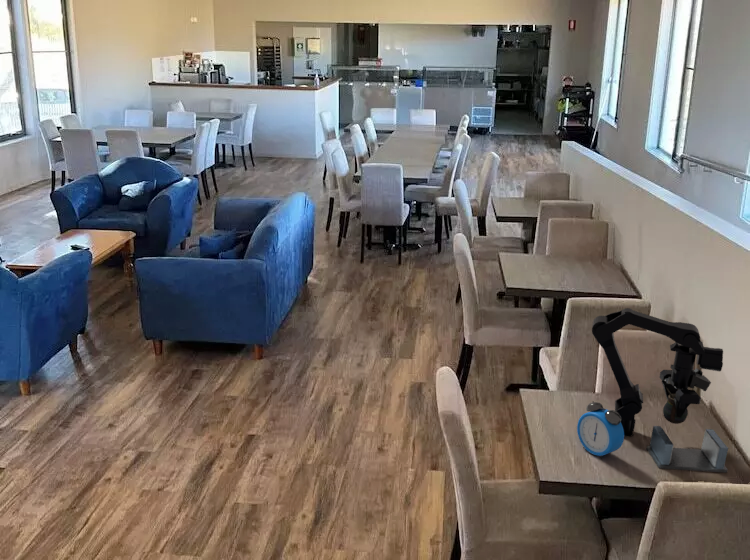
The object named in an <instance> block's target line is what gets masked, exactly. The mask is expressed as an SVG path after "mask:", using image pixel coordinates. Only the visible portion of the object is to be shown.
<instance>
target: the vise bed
mask: <svg viewBox="0 0 750 560" xmlns="http://www.w3.org/2000/svg"><path fill="white" fill-rule="evenodd" d="M700 448H701V449H700ZM700 448H699V449H697V448H684V447H683V448H682V447H673V451H672V456H671V461H670V463H669V465H662V464H661V462H660V461H659V459H658V458H657V456H656V454H655V453H654V451H653V450H652V448H651V446H650V445H646V450H647V452H648V454H649V456H650V457H651V459H652V460H653V462H654V464H655V465H656V466H657V468H658V469H664V470H665V469H666V470H677V471H679V470H681V471H694V472H708V473H709V472H710V473H713V472H714V473H728V471H729V470H728V468H727V467H726V465H725V464H726V460H727V454H728V451H729V447H728V446H727V445H726V444H725V442H724V441H723V440H722V439H721V438H720V436H719V435H718V434H717V432H716V431H715V430H714V429H712V428H711V429H709V428H705V430H704V434H703V440H702V444H701V447H700Z"/></svg>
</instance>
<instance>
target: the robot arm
mask: <svg viewBox="0 0 750 560" xmlns="http://www.w3.org/2000/svg"><path fill="white" fill-rule="evenodd" d="M628 325H630V326H633V327H637V328H640V329H643V330H645V331H650V332H653V333H655V334H659V335H662V336H665V337H667V338H669V339H670V340H672V341H673V342H674V343H672V344H670V345H669V349H670V351H671V352H675V353H674V355H675V356H674V360H673V364H670V369H663V370H660V373H659V378H660V380H661V384H662V387H663V390H664V393H665V396H666V397H665V398H666V400H667V401H668V396H669V395H670V394H669V392H668V390H669V391H670V392H671V394H676V397H674V402H675V407H676V413H677V417H682V415H683V414H684V412H685V410H686V409H687V410H688V407H689V406H690V405H700V404H701V399H702V397H701V396H700V395H699V394H698V393H697V391H696V390H695V387H696V388H698V389H700V390H702V391H703V392H706V391H707V390H708V389H709V387H710V385H711V383H712V382H711V380H709V379H708V378H707V377H706V376H705V375H704V374H703V373H704V372H703V371H702V370H708V371H715V372H721V371H722V369H723V366H724V362H723V360H724V359H723V358H724V349H723V348H719V347H717V348H716V347H708V346H705V345H704V344H703V343H704V342H703V341H701V335H700V331H699V328H698V327H697V326H696V325H695V324H692V323H689V322H688V323H687V322H683V321H682V322H680V321H678V322H673V321H668V320H666V319H662V318H659V317H655V316H652V315H649V314H646V313H643V312H640V311H636V310H633V309H632V308H628V307H627V308H626V307H625V308H624V309H621V310H618V311H615V312H610V313H608V314H606V315H598V316H596V317H595V318H594V319H593V321H592V327H591V333H592V335H593V337H594V339H595V341H596V342H597V343H598V344H599V346H601V348H602V349H603V351H604V354H605V356H606V359H607V361H608V364H609V367H610V368H611V371H612V373H613V376H614V378H615V380H616V384H617V385H618V388H619V392H620V397H619V398H618V399H615V401H614V411H617V412H618V413H619V414H620V416H621V424H622V426H623V430H624V437H625V436H626V437H627V436H628V437H634V435H635V434H634V431H635V425H636V419H635V416H636V415H638V414H640V413H641V411H642V409H643V404H644V394H643V393H642V391H641V390H640V386H639V383H637V384H633V382H632V381H631V379H630V376H629V374H628V371H627V368H626V367H625V363H624V361H623V359H622V356H621V354H620V352H619V349H618V346H617V344H616V340H615V336H614V335H615V334H614V333H616V332H618V331H619V330H621V329H622V328H624V327H626V326H628ZM695 362H696V365H697V366H698V365H699V368H697V367H696V368H694V367H695ZM701 369H702V370H701ZM666 387H667V388H668V390H667V389H666ZM667 401H666V402H667Z"/></svg>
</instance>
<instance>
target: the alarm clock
mask: <svg viewBox="0 0 750 560" xmlns="http://www.w3.org/2000/svg"><path fill="white" fill-rule="evenodd" d="M586 411H587V412H586V413H585V412H584V413H583V414H582V415H581V416H580V417H579V419H578V422H577V424H576V425H577V426H576V430H577V432H576V433H577V436H578V439H579V442H580V444H582V446H583V449H585V450H586V451H587V452H588V453H590V454H592V455H594V456H597V457H600V459H601V460H602V459H603V456H605V455H608V454H610V453H613V452H615V451H618V450H619V449H620V448H621V447H622V445H623V444H624V441H625V436H624V430H623V426H622V424H621V416H620V414H619V413H618V412H617V411H615V409H607V408H604V406H603V404H602V403H600V402H598V401H593V400H592V402H590V403H588V404H587V405H586Z"/></svg>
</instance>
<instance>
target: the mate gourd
mask: <svg viewBox="0 0 750 560" xmlns="http://www.w3.org/2000/svg"><path fill="white" fill-rule="evenodd" d="M666 389H667V390H668V388H667V387H666ZM668 392H669V394H670V395H669V396H668V401H666V403H665V404H664V406H663V408H662V409H663V410H662V413H663V417H664V419H665V420H666V421H667V422H668V423H671V424H675V425H679V424H682V423H683V422H686V419H687V418H688V415H689V412H688V411H689V410H688V408H687V409H686V410H685V412H684V414H683V415H682V417H677V413H676V407H675V402H674V397H676V394H671V392H670V391H669V390H668Z"/></svg>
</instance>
